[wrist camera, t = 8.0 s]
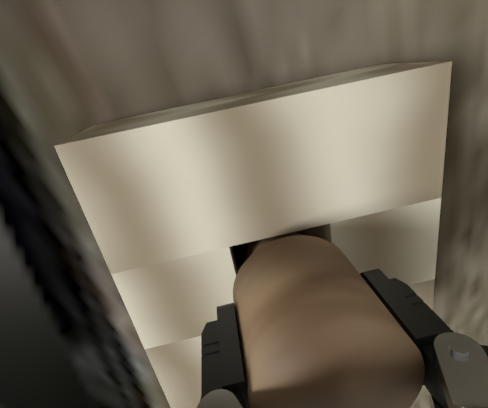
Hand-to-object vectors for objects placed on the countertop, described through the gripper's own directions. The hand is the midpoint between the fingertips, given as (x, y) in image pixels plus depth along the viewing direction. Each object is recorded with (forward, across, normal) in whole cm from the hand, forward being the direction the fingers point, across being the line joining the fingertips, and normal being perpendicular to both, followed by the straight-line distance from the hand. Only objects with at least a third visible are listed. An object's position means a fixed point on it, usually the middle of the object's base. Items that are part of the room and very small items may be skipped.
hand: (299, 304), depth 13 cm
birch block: (+7, 0, 0) cm, 7 cm away
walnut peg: (+6, 0, 0) cm, 6 cm away
